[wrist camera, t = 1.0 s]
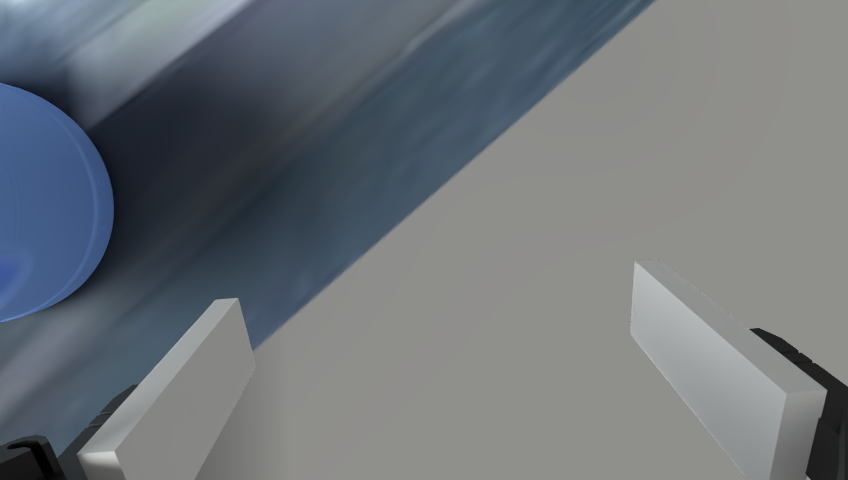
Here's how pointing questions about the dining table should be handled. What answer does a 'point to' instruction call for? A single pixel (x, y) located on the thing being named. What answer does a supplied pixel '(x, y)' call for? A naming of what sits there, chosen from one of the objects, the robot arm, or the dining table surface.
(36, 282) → the water jug
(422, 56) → the dining table surface
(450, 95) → the dining table surface
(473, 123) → the dining table surface
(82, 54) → the dining table surface
